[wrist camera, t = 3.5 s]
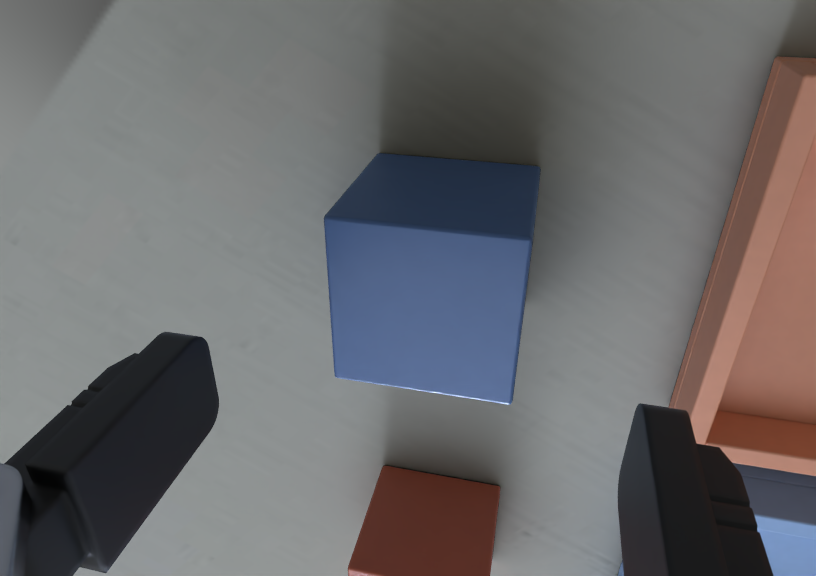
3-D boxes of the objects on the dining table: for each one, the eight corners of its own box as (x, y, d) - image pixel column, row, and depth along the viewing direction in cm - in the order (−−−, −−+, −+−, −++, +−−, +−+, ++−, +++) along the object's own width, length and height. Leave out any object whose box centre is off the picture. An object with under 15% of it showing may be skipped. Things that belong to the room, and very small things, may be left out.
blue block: (379, 290, 19) (333, 378, 15) (377, 151, 16) (322, 216, 13) (523, 308, 18) (511, 406, 14) (541, 165, 16) (533, 237, 12)
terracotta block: (384, 539, 25) (352, 646, 21) (382, 464, 23) (347, 568, 19) (491, 561, 24) (477, 676, 20) (500, 485, 22) (487, 598, 18)
